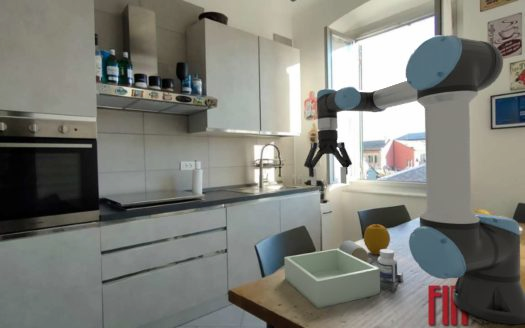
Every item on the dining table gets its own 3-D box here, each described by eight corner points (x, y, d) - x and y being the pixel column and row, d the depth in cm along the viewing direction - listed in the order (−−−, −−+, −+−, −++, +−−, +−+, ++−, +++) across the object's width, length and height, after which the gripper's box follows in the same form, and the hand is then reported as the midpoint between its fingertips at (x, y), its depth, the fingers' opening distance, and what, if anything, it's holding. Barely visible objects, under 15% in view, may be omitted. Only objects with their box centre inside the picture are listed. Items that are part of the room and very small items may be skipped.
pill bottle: (387, 278, 90) (387, 247, 90) (401, 284, 85) (400, 252, 85) (374, 281, 88) (373, 249, 88) (387, 288, 83) (386, 254, 83)
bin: (380, 293, 80) (379, 268, 80) (318, 308, 73) (317, 281, 73) (337, 268, 99) (337, 248, 99) (285, 278, 92) (284, 257, 92)
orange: (392, 258, 107) (391, 227, 107) (365, 257, 110) (364, 226, 109) (388, 250, 116) (387, 221, 116) (363, 249, 119) (362, 220, 119)
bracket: (383, 274, 93) (382, 264, 93) (403, 279, 89) (402, 268, 89) (371, 286, 85) (371, 275, 84) (393, 292, 81) (392, 280, 81)
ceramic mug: (351, 269, 98) (351, 247, 98) (338, 261, 105) (338, 241, 105) (377, 265, 101) (377, 244, 101) (362, 258, 109) (362, 238, 109)
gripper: (348, 131, 120) (349, 181, 120) (294, 130, 111) (296, 185, 111) (360, 129, 113) (361, 183, 113) (303, 128, 104) (305, 187, 104)
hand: (329, 184), depth 112 cm, fingers open, 13 cm apart
